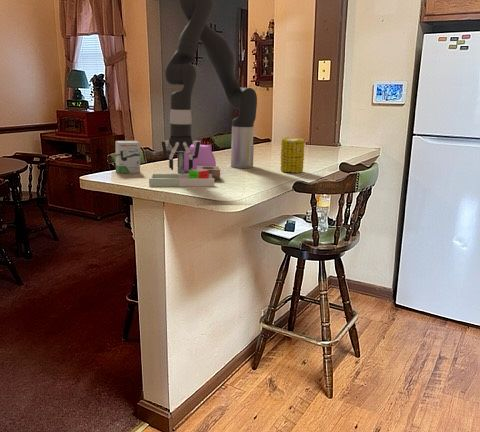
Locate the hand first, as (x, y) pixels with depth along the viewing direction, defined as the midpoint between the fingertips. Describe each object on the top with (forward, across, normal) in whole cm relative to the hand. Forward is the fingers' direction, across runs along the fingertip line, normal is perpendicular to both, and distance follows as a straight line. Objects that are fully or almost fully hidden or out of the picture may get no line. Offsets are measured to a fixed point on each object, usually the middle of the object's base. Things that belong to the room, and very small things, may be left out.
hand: (180, 169), depth 172 cm
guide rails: (+4, -5, +8) cm, 10 cm away
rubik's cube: (+4, -6, +8) cm, 11 cm away
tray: (+4, +6, +8) cm, 10 cm away
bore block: (+4, -10, -1) cm, 11 cm away
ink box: (+4, +20, -15) cm, 25 cm away
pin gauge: (+4, 0, 0) cm, 4 cm away
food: (+4, -46, -17) cm, 49 cm away
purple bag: (+4, -7, -20) cm, 22 cm away
